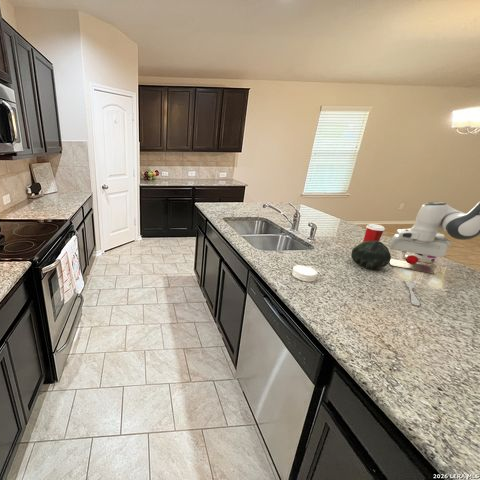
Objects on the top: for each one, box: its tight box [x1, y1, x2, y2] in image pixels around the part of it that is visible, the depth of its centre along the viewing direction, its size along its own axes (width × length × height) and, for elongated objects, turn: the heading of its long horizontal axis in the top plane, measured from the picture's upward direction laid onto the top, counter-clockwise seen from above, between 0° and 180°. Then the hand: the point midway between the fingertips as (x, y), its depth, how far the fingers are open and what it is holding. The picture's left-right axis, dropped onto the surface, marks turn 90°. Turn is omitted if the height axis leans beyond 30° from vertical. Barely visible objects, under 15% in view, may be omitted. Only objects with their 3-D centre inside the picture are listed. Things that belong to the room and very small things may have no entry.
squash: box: [350, 240, 392, 270], centre depth 126 cm, size 14×15×15 cm
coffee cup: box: [362, 223, 386, 242], centre depth 144 cm, size 8×8×15 cm
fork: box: [405, 281, 421, 307], centre depth 105 cm, size 3×21×3 cm, turn 145°
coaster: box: [291, 264, 318, 283], centre depth 117 cm, size 10×10×4 cm
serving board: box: [388, 258, 435, 275], centre depth 128 cm, size 16×10×1 cm, turn 57°
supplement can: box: [413, 232, 446, 264], centre depth 132 cm, size 8×8×15 cm
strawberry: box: [405, 254, 419, 264], centre depth 127 cm, size 4×4×4 cm
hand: (411, 260), depth 127 cm, fingers closed on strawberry, 4 cm apart
